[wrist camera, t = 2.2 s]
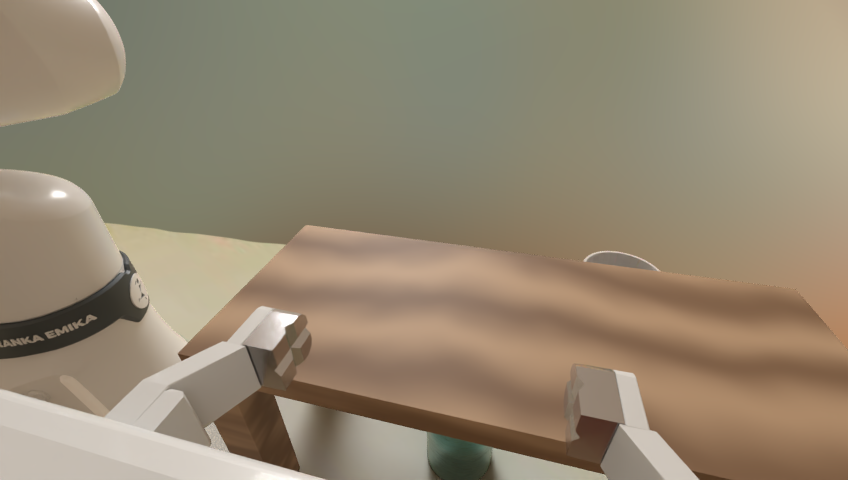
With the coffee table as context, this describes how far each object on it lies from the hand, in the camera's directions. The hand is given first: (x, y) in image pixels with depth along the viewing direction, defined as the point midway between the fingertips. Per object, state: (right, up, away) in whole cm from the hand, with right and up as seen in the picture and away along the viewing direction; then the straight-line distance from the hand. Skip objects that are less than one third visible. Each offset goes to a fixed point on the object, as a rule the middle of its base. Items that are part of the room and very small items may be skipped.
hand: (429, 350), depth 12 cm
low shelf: (+6, -17, +24) cm, 30 cm away
